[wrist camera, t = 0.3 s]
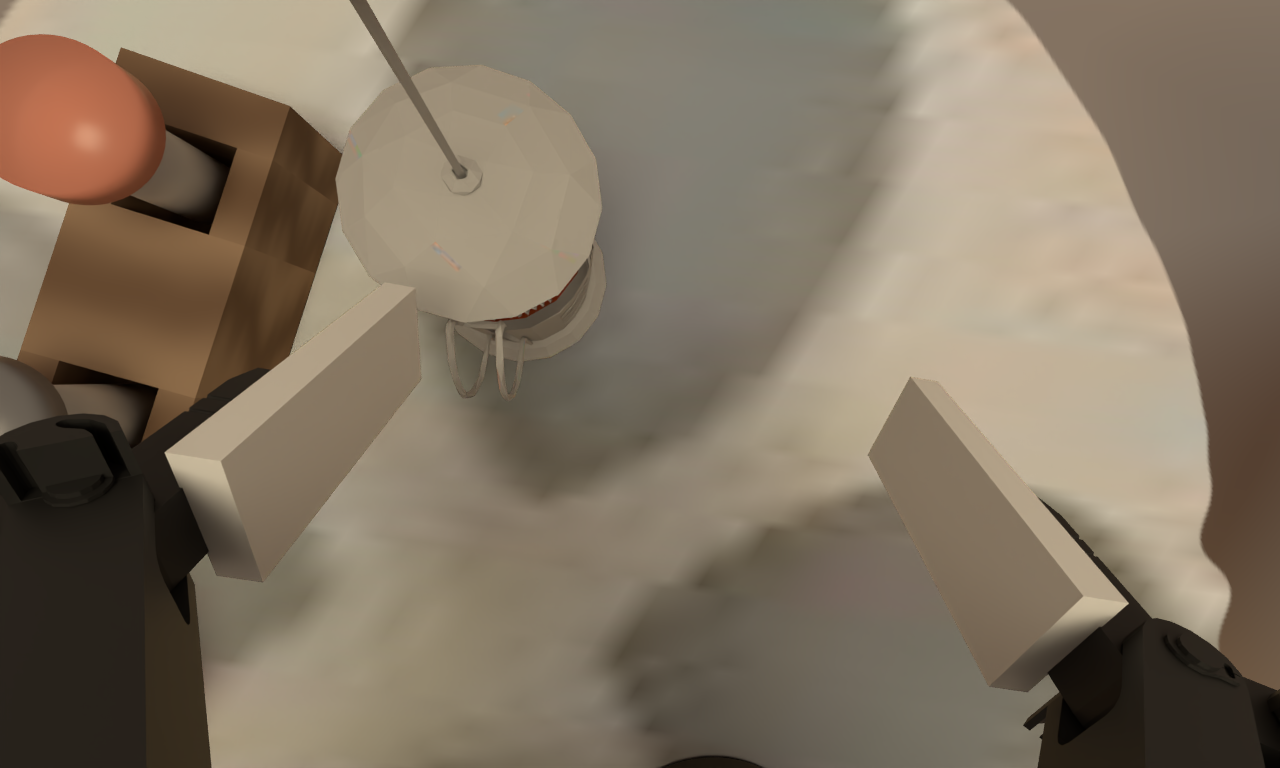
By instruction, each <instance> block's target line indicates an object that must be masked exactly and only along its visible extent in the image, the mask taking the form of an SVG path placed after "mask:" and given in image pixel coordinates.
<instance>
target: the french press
mask: <svg viewBox="0 0 1280 768" xmlns="http://www.w3.org/2000/svg"><path fill="white" fill-rule="evenodd" d="M350 2H351V3H352V5H353V6H354V8H355V10H356V11H357V13H358V15H359V16H360V18H361V19H362V21H363V23H364V24H365V26H366V28H367V29H368V31H369V33H370V34H371V36H372V37H373V39H374V41H375V42H376V44H377V46H378V47H379V49H380V50H381V52H382V54H383V55H384V57H385V59H386V60H387V62H388V63H389V65H390V67H391V68H392V70H393V72H394V73H395V75H396V76H397V78H398V80H399V81H400V82H399V83H397V84H395V85H393V86H391V87H389V88H387V89H384V90H383V91H382V92H381V93H380V95H379V96H378V97H377V98H376V99H375V100H374V102H373V103H372V104H371V105H370V106H369V107H368V109H367V110H366V111H365V112H364V113H363V114H362V116H361V117H360V118H359V119H358V120H357V121H356V123H355V124H354V125H353V126H352V127H351V128H350V131H349V134H348V137H347V141H346V144H345V148H344V151H343V155H342V158H341V161H340V165H339V168H338V172H337V175H336V187H337V194H338V202H339V209H340V217H341V224H342V231H343V233H344V234H345V236H346V238H347V239H348V241H349V243H350V245H351V246H352V248H353V250H354V251H355V253H356V255H357V256H358V258H359V260H360V261H361V263H362V265H363V267H364V268H365V270H366V272H367V273H368V275H369V277H371V278H372V279H373V280H375V281H376V282H378V283H379V284H380V285H382V284H383V283H384V282H386V283H392V284H397V285H403V286H408V287H414V288H416V303H417V310H420V311H423V312H427V313H431V314H434V315H438V316H442V317H445V318H449V320H448V322H447V323H446V343H447V355H448V363H449V367H450V370H451V374H452V377H453V381H454V384H455V386H456V388H457V390H458V393H459V394H460V395H461V397H462V398H469V397H473V396H475V394H476V393H477V391H478V389H479V387H480V385H481V383H482V381H483V379H484V375H485V370H486V366H487V360H488V355H489V354H490V355H494V356H496V368H497V375H498V383H499V390H500V393H501V395H502V397H503V398H504V399H505V400H507V401H509V400H511V399H512V398H514V397H515V395H516V392H517V390H518V387H519V384H520V381H521V375H522V369H523V361H527V360H535V359H543V358H550V357H552V356H554V355H556V354H557V353H559V352H561V351H563V350H564V349H566V348H568V347H570V346H571V345H573V344H575V343H577V342H578V341H579V340H580V339H581V338H582V336H583V335H584V334H585V332H586V331H587V330H588V329H589V327H590V326H591V325H592V323H593V322H594V321H595V320H596V318H597V317H598V315H599V311H600V308H601V304H602V300H603V296H604V293H605V289H606V277H605V270H604V262H603V254H602V251H601V250H600V248H599V246H598V244H597V243H596V241H595V239H594V237H595V233H596V230H597V226H598V222H599V219H600V215H601V211H602V203H601V195H600V187H599V179H598V171H597V164H596V158H595V157H594V155H593V153H592V151H591V150H590V148H589V146H588V144H587V143H586V141H585V139H584V137H583V136H582V134H581V132H580V130H579V129H578V127H577V125H576V124H575V122H574V120H573V118H572V117H571V115H570V114H569V113H568V112H567V111H566V110H564V109H563V108H562V107H561V106H560V105H558V104H557V103H556V102H555V101H553V100H552V99H551V98H550V97H549V96H547V95H546V94H545V93H544V92H543V91H541V90H540V89H539V88H538V87H537V86H535V85H534V84H533V83H532V82H531V81H528V80H525V79H522V78H519V77H516V76H513V75H510V74H507V73H504V72H501V71H498V70H495V69H492V68H489V67H486V66H483V65H470V66H451V67H433V68H428V69H426V70H424V71H422V72H420V73H418V74H416V75H414V76H412V77H410V76H409V74H408V73H407V71H406V69H405V67H404V65H403V64H402V62H401V60H400V58H399V57H398V55H397V53H396V51H395V50H394V48H393V46H392V44H391V43H390V41H389V39H388V37H387V36H386V34H385V32H384V30H383V29H382V27H381V25H380V23H379V22H378V20H377V18H376V16H375V15H374V13H373V11H372V9H371V7H370V6H369V4H368V2H367V0H350ZM454 329H455V330H456V331H457V333H458V334H460V335H461V336H462V337H464V338H465V339H466V340H468V341H469V342H470V343H472V344H473V345H474V346H476V347H477V348H478V349H480V350H481V351H482V352H484V353H483V359H482V364H481V368H480V372H479V376H478V379H477V381H476V383H475V385H474V386H473V388H472V389H471V390H470V391H469V392H466V391H465V390H464V389H463V387H462V384H461V381H460V379H459V375H458V370H457V365H456V360H455V344H454ZM503 358H505V359H509V360H513V361H516V362H518V364H517V369H516V374H515V380H514V383H513V387H512V390H511V392H510V394H508V393H507V388H506V383H505V373H504V364H503Z"/></svg>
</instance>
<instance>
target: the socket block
mask: <svg viewBox="0 0 1280 768" xmlns="http://www.w3.org/2000/svg"><path fill="white" fill-rule="evenodd" d="M116 64H117V65H119V66H120V67H122V68H123V69H125V70H126V71H127V72H129V73H130V74H132V75H133V76H134V77H136V78H137V79H138V80H139V81H140V82H141V83H143V84H144V85H145V87H146V88H147V89H148V90H149V91H150V92H151V94H152V95H153V97H154V98H155V100H156V102H157V104H158V106H159V108H160V110H161V113H162V116H163V119H164V123H165V129H166V130H167V131H168V132H170V133H172V134H173V135H175V136H177V137H178V138H180V139H182V140H183V141H185V142H187V143H189V144H190V145H192V146H194V147H195V148H197V149H199V150H200V151H202V152H204V153H205V154H207V155H209V156H211V157H212V158H214V159H216V160H217V161H219V162H221V163H222V164H224V165H226V166H227V167H229V168H230V172H229V175H228V178H227V181H226V184H225V187H224V190H223V193H222V196H221V199H220V202H219V205H218V208H217V212H216V215H215V218H214V221H213V224H203V223H199V222H196V221H193V220H191V219H188V218H186V217H183V216H181V215H178V214H176V213H173V212H171V211H168V210H166V209H163V208H161V207H158V206H156V205H153V204H151V203H148V202H146V201H143V200H141V199H138V198H136V197H133V196H131V195H130V196H128V197H126V198H124V199H121V200H118V201H115V202H112V203H107V204H102V205H78V204H71V203H69V205H68V208H67V211H66V214H65V217H64V220H63V223H62V226H61V229H60V232H59V235H58V239H57V242H56V245H55V248H54V251H53V254H52V257H51V260H50V263H49V266H48V269H47V272H46V275H45V278H44V281H43V284H42V287H41V290H40V293H39V296H38V299H37V302H36V305H35V308H34V311H33V314H32V317H31V320H30V323H29V326H28V329H27V332H26V335H25V338H24V341H23V344H22V347H21V350H20V353H19V356H18V359H17V361H20V362H22V363H24V364H26V365H29V366H30V367H32V368H34V369H35V370H37V371H38V372H40V373H41V374H42V375H43V376H44V377H46V378H47V379H48V380H49V381H50V382H51V383H52V385H73V384H129V383H138V384H144V385H148V386H150V387H152V388H154V389H156V390H157V391H158V392H157V395H156V398H155V401H154V405H153V408H152V411H151V414H150V417H149V420H148V423H147V426H146V429H145V432H144V435H143V438H142V441H144V440H145V439H146V438H148V437H149V436H150V435H152V434H153V433H155V432H156V431H157V430H159V429H160V428H162V427H163V426H164V425H166V424H167V423H169V422H170V421H171V420H173V419H174V418H176V417H177V416H178V415H180V414H181V413H182V412H184V411H187V412H188V411H189V407H191V406H192V405H194V404H195V403H196V402H198V401H199V400H201V399H202V398H207V395H208V394H209V393H210V392H212V391H213V390H214V389H216V388H217V387H219V386H220V385H221V384H223V383H224V382H226V381H227V380H228V379H230V378H233V377H236V376H238V375H241V374H243V373H246V372H248V371H251V370H253V369H256V368H264V369H270V370H272V369H273V368H274V367H276V366H277V365H278V364H280V363H281V362H282V361H284V360H285V359H286V358H287V357H289V354H290V351H291V348H292V345H293V341H294V338H295V335H296V332H297V329H298V326H299V323H300V320H301V317H302V313H303V310H304V307H305V304H306V301H307V298H308V295H309V292H310V289H311V286H312V282H313V279H314V276H315V273H316V270H317V267H318V264H319V261H320V258H321V254H322V251H323V248H324V245H325V242H326V239H327V236H328V233H329V230H330V227H331V223H332V220H333V217H334V214H335V211H336V208H337V205H338V194H337V187H336V175H337V172H338V168H339V165H340V161H341V158H342V154H341V153H340V152H339V151H338V150H337V149H336V148H334V147H333V146H332V145H331V144H330V143H329V142H328V141H327V140H326V139H325V138H324V137H323V136H322V135H320V134H319V133H318V132H317V131H316V130H315V129H314V128H313V127H312V126H311V125H310V124H309V123H307V122H306V121H305V120H304V119H303V118H302V117H301V116H300V115H299V114H298V113H297V112H296V111H295V110H293V109H292V108H291V107H290V106H288V105H285V104H282V103H279V102H276V101H273V100H270V99H268V98H265V97H262V96H259V95H256V94H253V93H250V92H247V91H245V90H242V89H239V88H236V87H233V86H230V85H227V84H225V83H222V82H219V81H216V80H213V79H210V78H207V77H204V76H202V75H199V74H196V73H193V72H190V71H187V70H184V69H181V68H179V67H176V66H173V65H170V64H167V63H164V62H161V61H159V60H156V59H153V58H150V57H147V56H144V55H141V54H138V53H136V52H133V51H130V50H127V49H124V48H121V49H120V52H119V55H118V58H117V61H116ZM142 441H141V442H142Z"/></svg>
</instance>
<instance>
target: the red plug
mask: <svg viewBox="0 0 1280 768" xmlns="http://www.w3.org/2000/svg"><path fill="white" fill-rule="evenodd" d="M229 172H230V168H229V167H227V166H226V165H224V164H222V163H221V162H219V161H217V160H216V159H214V158H212V157H211V156H209V155H207V154H205V153H204V152H202V151H200V150H199V149H197V148H195V147H194V146H192V145H190V144H189V143H187V142H185V141H183V140H182V139H180V138H178V137H177V136H175V135H173V134H172V133H170V132H168V131H167V130H166V129H165V123H164V119H163V116H162V113H161V110H160V108H159V106H158V104H157V102H156V100H155V98H154V97H153V95H152V94H151V92H150V91H149V90H148V89H147V88H146V87H145V85H144V84H143V83H141V82H140V81H139V80H138V79H137V78H136V77H134V76H133V75H132V74H130V73H129V72H127V71H126V70H125V69H123V68H122V67H120V66H119V65H117V64H116V63H114V62H113V61H111V60H110V59H108V58H107V57H105V56H104V55H102V54H101V53H99V52H98V51H96V50H95V49H93V48H91V47H89V46H87V45H85V44H83V43H81V42H78V41H76V40H73V39H69V38H66V37H61V36H55V35H42V34H39V35H27V36H22V37H17V38H14V39H11V40H8V41H6V42H3V43H1V44H0V177H1V178H2V179H4V180H6V181H8V182H10V183H12V184H14V185H16V186H19V187H22V188H24V189H27V190H30V191H33V192H36V193H39V194H42V195H45V196H48V197H51V198H54V199H57V200H60V201H63V202H67V203H71V204H78V205H102V204H107V203H112V202H115V201H118V200H121V199H124V198H126V197H128V196H130V195H131V196H133V197H136V198H138V199H141V200H143V201H146V202H148V203H151V204H153V205H156V206H158V207H161V208H163V209H166V210H168V211H171V212H173V213H176V214H178V215H181V216H183V217H186V218H188V219H191V220H193V221H196V222H199V223H203V224H213V221H214V218H215V215H216V212H217V208H218V205H219V202H220V199H221V196H222V193H223V190H224V187H225V184H226V181H227V178H228V175H229Z"/></svg>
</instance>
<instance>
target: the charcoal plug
mask: <svg viewBox="0 0 1280 768" xmlns="http://www.w3.org/2000/svg"><path fill="white" fill-rule="evenodd" d="M157 392H158V391H157V390H156V389H154V388H152V387H150V386H148V385H144V384H138V383H129V384H73V385H52V383H51V382H50V381H49V380H48V379H47V378H46V377H44V376H43V375H42V374H41V373H40V372H38V371H37V370H35V369H34V368H32V367H30V366H29V365H26V364H24V363H22V362H20V361H17V360H14V359H11V358H8V357H3V356H0V436H1V435H3V434H4V433H6V432H8V431H11V430H13V429H16V428H18V427H21V426H23V425H26V424H28V423H31V422H35V421H39V420H43V419H47V418H51V417H55V416H61V415H71V414H82V413H86V414H97V415H105V416H108V417H110V418H112V419H115V420H117V421H118V422H119V424H120V426H121V428H122V430H123V432H124V434H125V436H126V439H127V441H128V443H129V445H130V447H131V449H132V448H134V447H135V446H137V445H138V444H139V443H141V441H142V438H143V435H144V432H145V429H146V426H147V423H148V420H149V417H150V414H151V411H152V408H153V405H154V401H155V398H156V395H157Z"/></svg>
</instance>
